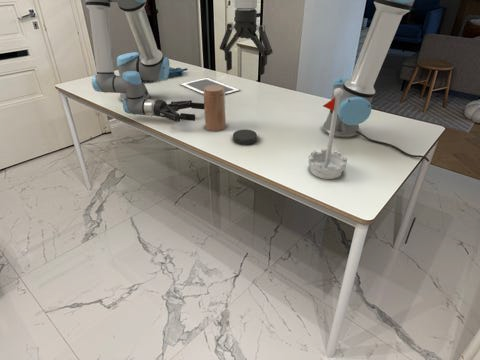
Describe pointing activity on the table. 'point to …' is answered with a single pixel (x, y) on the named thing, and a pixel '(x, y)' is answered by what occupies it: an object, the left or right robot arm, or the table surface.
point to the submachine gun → (173, 72)
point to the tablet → (202, 83)
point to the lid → (244, 137)
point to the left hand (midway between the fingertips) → (200, 111)
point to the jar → (214, 107)
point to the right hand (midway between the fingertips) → (245, 71)
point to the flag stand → (329, 148)
